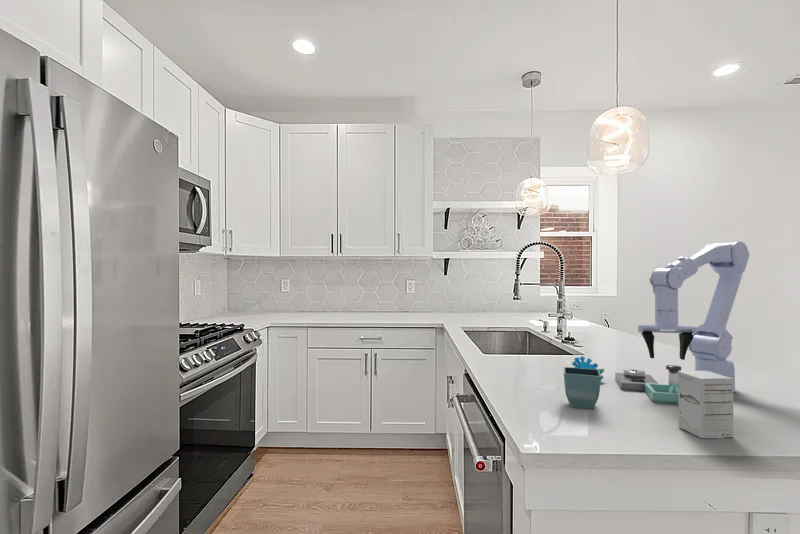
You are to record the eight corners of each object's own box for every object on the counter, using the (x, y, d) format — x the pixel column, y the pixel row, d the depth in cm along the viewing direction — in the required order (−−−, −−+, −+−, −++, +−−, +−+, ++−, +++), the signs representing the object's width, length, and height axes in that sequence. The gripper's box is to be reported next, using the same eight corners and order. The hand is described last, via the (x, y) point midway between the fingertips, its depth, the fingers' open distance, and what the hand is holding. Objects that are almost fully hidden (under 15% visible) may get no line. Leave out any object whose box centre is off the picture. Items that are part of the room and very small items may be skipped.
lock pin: (678, 394, 129) (678, 365, 129) (683, 397, 125) (683, 368, 125) (664, 393, 130) (664, 364, 130) (668, 397, 126) (668, 367, 126)
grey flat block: (650, 381, 147) (650, 369, 147) (659, 392, 133) (659, 379, 133) (615, 378, 150) (615, 367, 150) (621, 389, 136) (621, 376, 136)
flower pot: (599, 403, 123) (598, 368, 123) (601, 412, 115) (601, 376, 115) (563, 400, 126) (563, 366, 126) (563, 409, 117) (563, 373, 117)
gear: (580, 381, 140) (569, 353, 147) (571, 391, 144) (560, 364, 151) (612, 384, 142) (600, 356, 149) (601, 394, 146) (590, 367, 153)
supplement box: (677, 427, 104) (676, 370, 104) (708, 426, 104) (708, 370, 104) (701, 439, 96) (701, 378, 96) (735, 438, 97) (734, 377, 97)
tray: (700, 395, 130) (700, 386, 130) (713, 406, 119) (713, 396, 119) (644, 391, 134) (644, 382, 134) (652, 401, 124) (652, 392, 124)
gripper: (641, 311, 131) (641, 359, 131) (700, 312, 127) (700, 362, 127) (636, 309, 138) (636, 355, 138) (692, 310, 133) (692, 357, 133)
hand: (666, 358), depth 133 cm, fingers open, 7 cm apart
